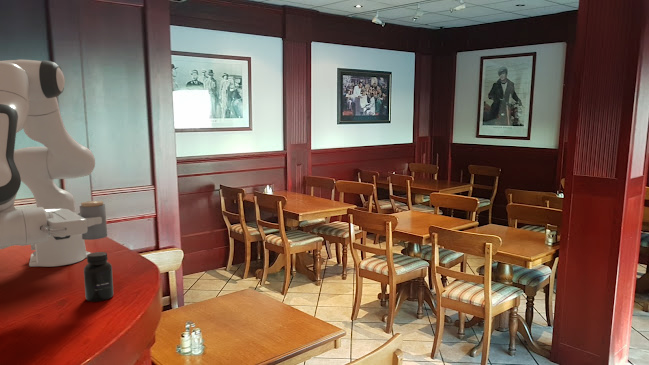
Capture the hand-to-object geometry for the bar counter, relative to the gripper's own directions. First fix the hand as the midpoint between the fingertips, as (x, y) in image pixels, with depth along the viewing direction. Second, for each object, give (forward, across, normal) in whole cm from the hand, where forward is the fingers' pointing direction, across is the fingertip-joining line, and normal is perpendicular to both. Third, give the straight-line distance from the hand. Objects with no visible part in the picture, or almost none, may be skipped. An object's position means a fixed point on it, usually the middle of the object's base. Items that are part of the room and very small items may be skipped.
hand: (97, 217), depth 127 cm
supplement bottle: (-1, 0, +22) cm, 22 cm away
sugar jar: (-1, 0, +5) cm, 5 cm away
